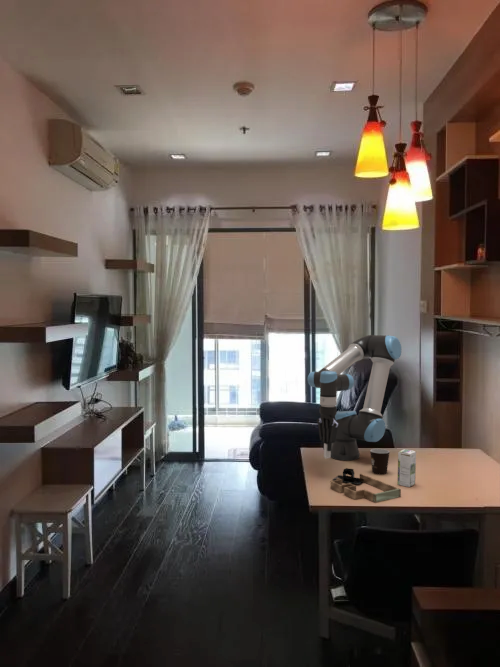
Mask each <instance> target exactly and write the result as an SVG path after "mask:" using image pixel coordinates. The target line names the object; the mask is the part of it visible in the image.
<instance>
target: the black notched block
mask: <svg viewBox="0 0 500 667" xmlns="http://www.w3.org/2000/svg"><path fill="white" fill-rule="evenodd" d="M342 470H343V471H342V474H341V475H339V474H338V475H337V476H336V477H334V478H332V481H335V480H336V478H339V479H342V483H351V484H356V485H361V484H362V483H364V482H363V481H364V479H362V478H360V477H355V471H354V469H353V468H347V467H345V468H344V469H342Z"/></svg>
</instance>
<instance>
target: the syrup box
mask: <svg viewBox="0 0 500 667" xmlns="http://www.w3.org/2000/svg"><path fill="white" fill-rule="evenodd" d="M416 465H417V451H415V450H412V449H405V448H404V449H402V450H400V451H398V453H397V481H396V482H397V485H398V486H402V487H407V488H411V487H412V486H414V485H415V484H416V473H417V472H416V470H417V469H416V468H417V466H416Z"/></svg>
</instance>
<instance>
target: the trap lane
mask: <svg viewBox="0 0 500 667" xmlns="http://www.w3.org/2000/svg"><path fill="white" fill-rule="evenodd" d="M359 478H362V479H364V481H363V482H362V483H365V484H367V485H370V486H371V487H374V488H376V489H379V490H381V492H377V493H374V492H372V491H369V490H367V489H365V488H364V489H360V490H357V485H355V484H354V483H349V482H347V483H343V482H342V479H339V478H336V480H331V481H330V482H329V483H330V485H329V486H330V489H331V490H333V491H335V492H337V493H341V494H342V493H343V495H344V496H346V497H348V498H350V499H352V500H359V499H366V500H368V501H371V502H372V503H379V502H383V501H387V500H388V501H389V500H393V499H397V498H401V497H402V494H401V493H402V489H401V488H398V487H397V486H394V485H391V484H388V483H387V482H384V481H381V480H379V479H376V478H373V477H370V476H368V475H365V474H364V473H359Z"/></svg>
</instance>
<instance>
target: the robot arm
mask: <svg viewBox="0 0 500 667" xmlns="http://www.w3.org/2000/svg"><path fill="white" fill-rule="evenodd" d="M401 355H402V344H401V342H400V339H399V338H398V337H397V336H394V335H389V334H388V335H379V334H377V335H376V334H375V335H374V334H368V335H364V336H362V337H359V338H358V339H356V340H354V341H352V342H351V343H350V344H349V345H348V347H347V348H346V349H345V351H343V352H341V353H339V355H337V356H336V357H335V358H334V359H333V360H332V361H330V362H329V363H328V364H326V365H324V367H322V368H321V369H320V370H318V371H311V372H309V374H308V376H307V383H308V385H309V386H310V387H312V388H315V389H319V405H320V406H319V414H320V417H319V418H317V419H316V423H317V426H318V436H319V441H321V442H322V443H323V447H322V448H323V458H324V459H335V460H339V461H355V460H359V458H360V451H359V446H358V444H357V440H361V441H364V442H365V441H366V442H369V443H376V442H377V443H378V442H379V441H380V440H382V438H383V436H384V435H385V432H386V422H385V420H384V419H383V414H382V413H381V412H382V406H383V401H384V398H385V392H386V387H387V383H388V378H389V374H390V369H391V367H392V366H393V365H394V364H395V360H398V359H400V358H401ZM364 358H370V360H371V362H372V366H371V371H370V375H369V379H368V380H369V381H368V383H367V388H366V394H365V399H364V402H363V403H364V404H363V406H362V407H363V408H362V409H360V410H359V411H358V414H357V411H356V410H343V411H338V412H337V404H338V403H337V402H338V401H337V400H338V399H337V395H338V394H337V392H342V391H345V392H346V391H349V390H351V389H352V388H353V387H354V385H355V380H354V378H353V376H352V375H351V374H348V373H343V372H345V371H346V370H347V369H349V367H351V366H352V365H353V364H354V363H356V362H357V361H361V360H363V359H364ZM342 373H343V374H342Z"/></svg>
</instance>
